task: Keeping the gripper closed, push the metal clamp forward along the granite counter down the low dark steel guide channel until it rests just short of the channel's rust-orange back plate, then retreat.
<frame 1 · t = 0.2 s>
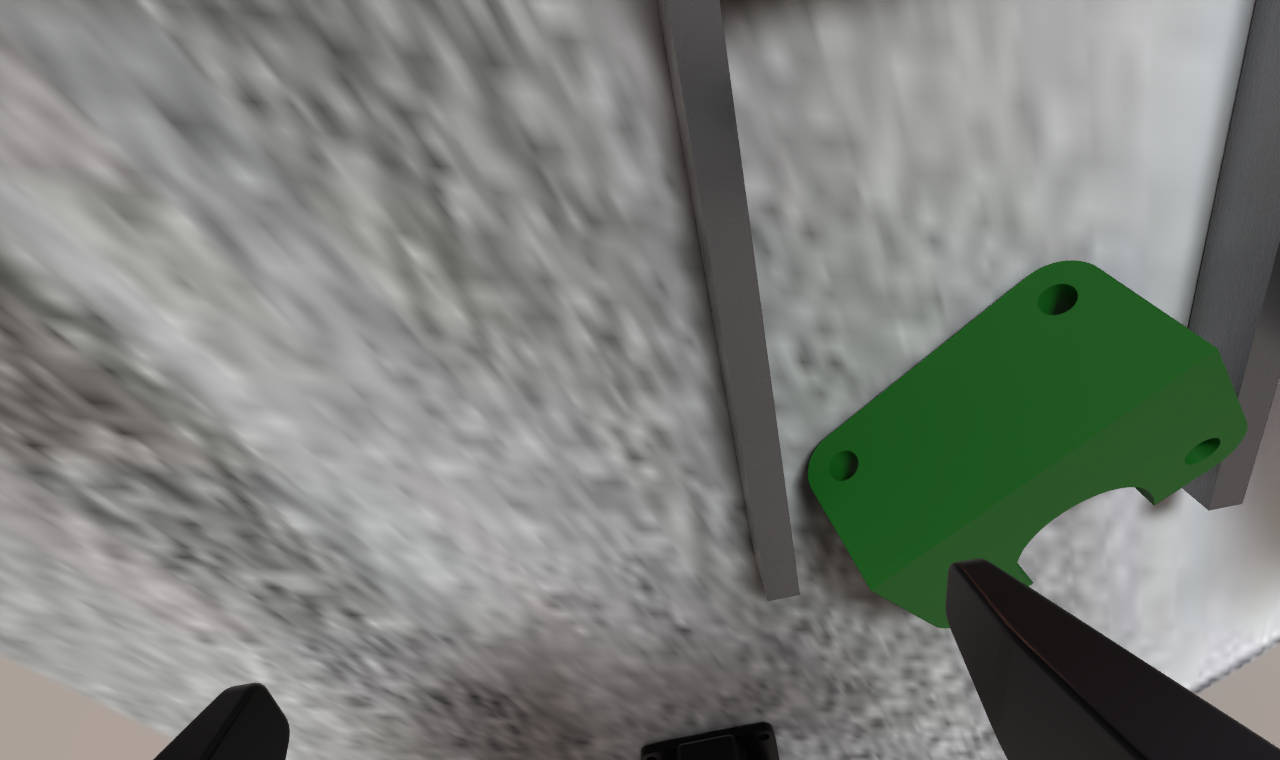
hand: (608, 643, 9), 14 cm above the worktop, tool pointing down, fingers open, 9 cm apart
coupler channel: (979, 218, 22), on the worktop
clamp: (966, 409, 26), on the worktop
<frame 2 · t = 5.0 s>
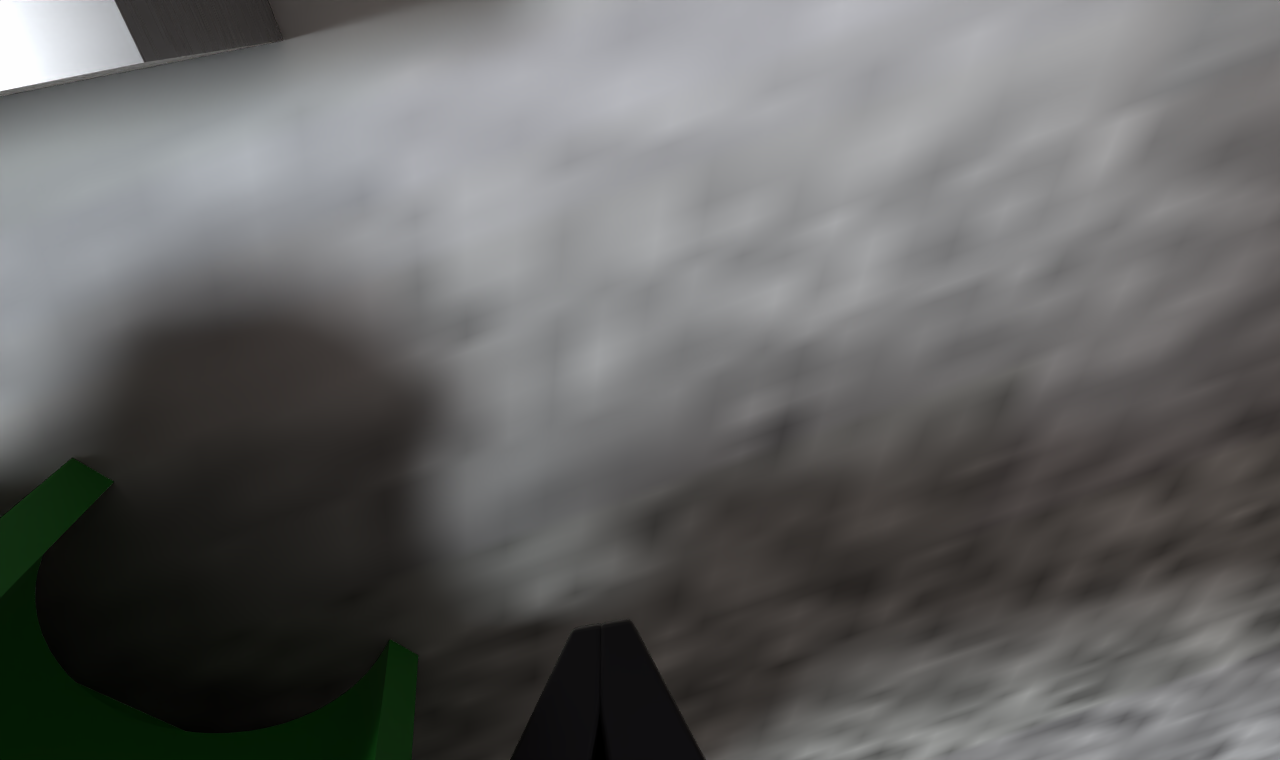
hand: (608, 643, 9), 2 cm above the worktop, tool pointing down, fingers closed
clamp: (180, 640, 11), on the worktop, touching gripper
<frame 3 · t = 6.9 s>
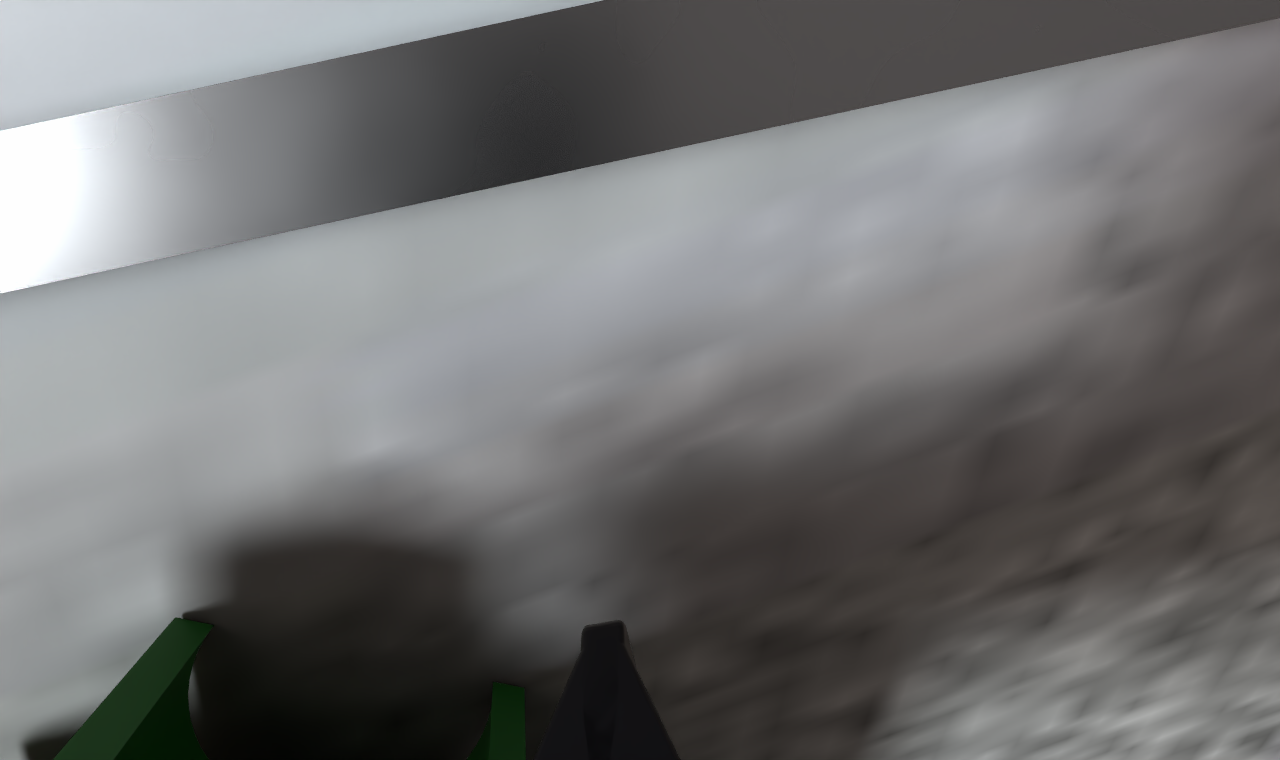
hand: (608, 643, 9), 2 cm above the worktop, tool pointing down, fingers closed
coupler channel: (342, 674, 12), on the worktop
clamp: (333, 741, 13), on the worktop, touching gripper
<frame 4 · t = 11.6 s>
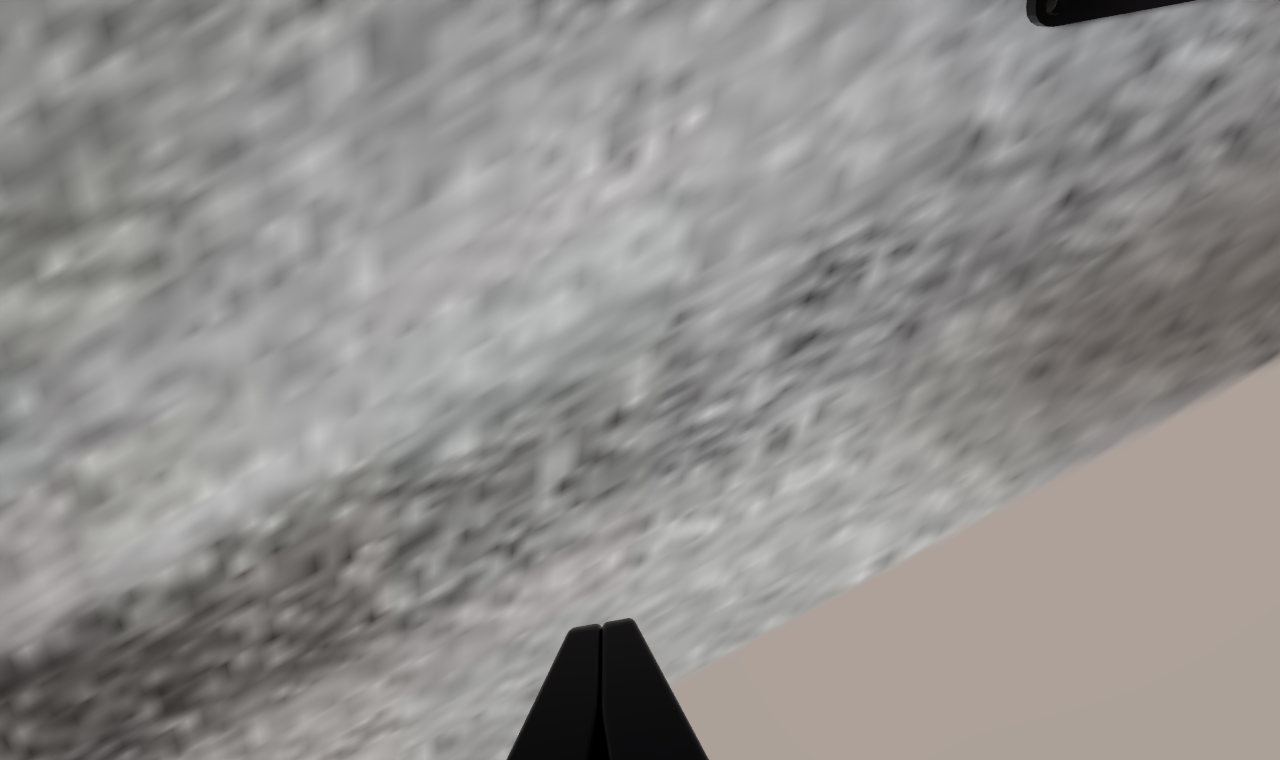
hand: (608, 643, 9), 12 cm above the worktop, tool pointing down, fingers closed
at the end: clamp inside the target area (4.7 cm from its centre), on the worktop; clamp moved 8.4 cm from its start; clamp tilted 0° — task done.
